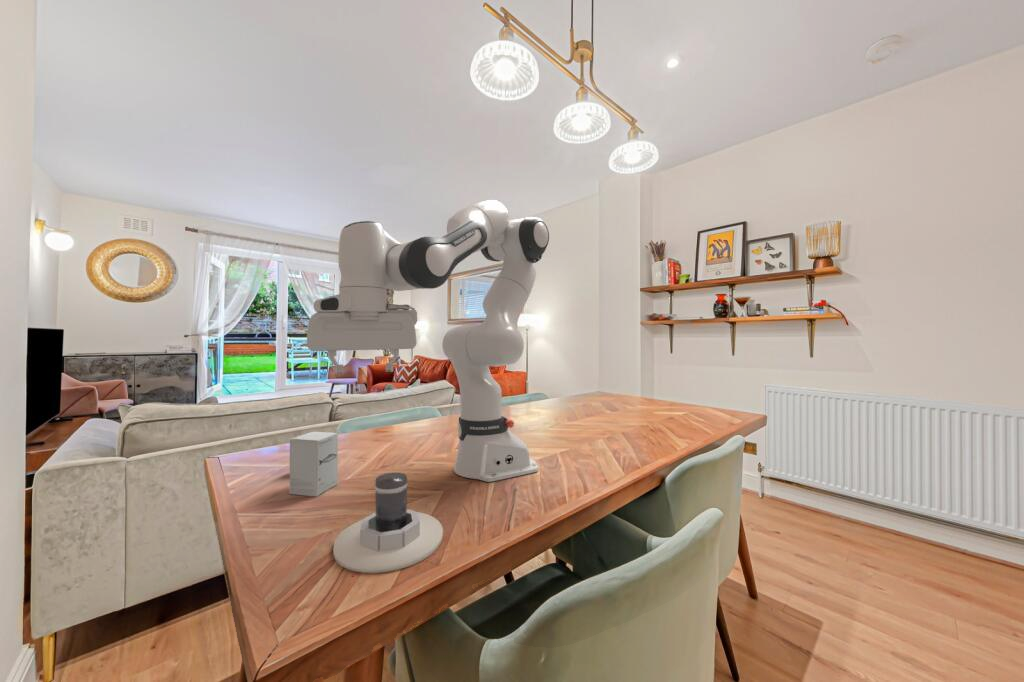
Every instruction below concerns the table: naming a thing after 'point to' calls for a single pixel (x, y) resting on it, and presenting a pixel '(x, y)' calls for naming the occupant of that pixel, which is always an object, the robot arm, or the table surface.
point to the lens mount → (387, 544)
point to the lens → (391, 501)
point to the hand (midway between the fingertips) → (364, 372)
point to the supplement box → (313, 463)
